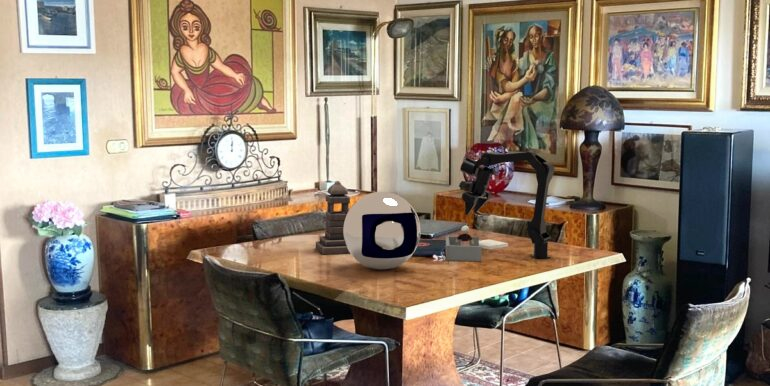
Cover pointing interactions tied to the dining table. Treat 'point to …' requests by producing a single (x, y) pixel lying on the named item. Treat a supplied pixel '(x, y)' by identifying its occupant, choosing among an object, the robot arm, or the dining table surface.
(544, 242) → the robot arm
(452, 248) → the open crate
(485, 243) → the ceramic tile
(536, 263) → the dining table surface
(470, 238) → the grandmother figurine
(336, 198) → the miniature tower
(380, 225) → the spherical light
